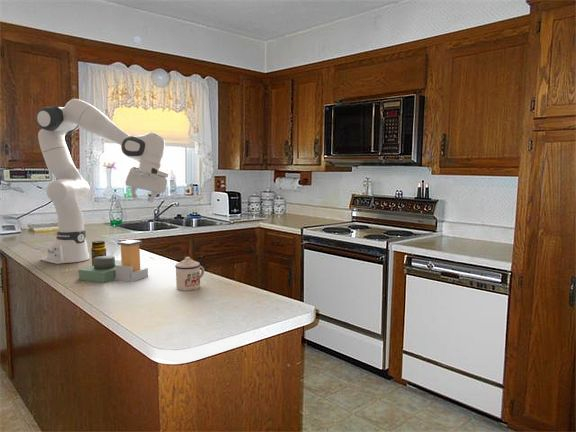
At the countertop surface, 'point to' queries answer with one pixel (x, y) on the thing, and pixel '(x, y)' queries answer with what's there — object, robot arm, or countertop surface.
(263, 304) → the countertop surface
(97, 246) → the condiment
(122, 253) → the gray-capped orange pillar
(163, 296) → the countertop surface
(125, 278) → the green base with knob
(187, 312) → the countertop surface
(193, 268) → the teacup with lid
